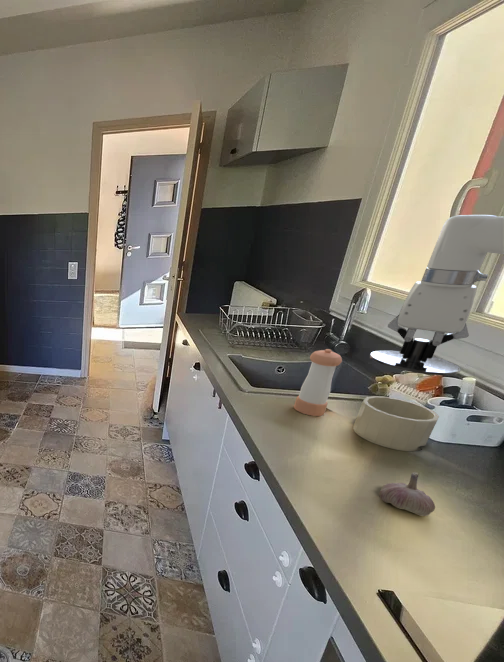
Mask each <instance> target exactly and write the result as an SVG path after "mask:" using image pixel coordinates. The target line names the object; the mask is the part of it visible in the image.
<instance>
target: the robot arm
mask: <svg viewBox="0 0 504 662" xmlns="http://www.w3.org/2000/svg"><path fill="white" fill-rule="evenodd" d="M489 253H490V254H498V255H504V216H497V215H493V214H459V215H453V216H451V217H449V218H448V219H446V220H445V222H444V223H443V225H442V228H441V230H440V233H439V235H438V238H437V240H436V243H435V246H434V248H433V250H432V253H431V255H430V258H429V260H428V263H427V265H426V268H425V271H424V273H423V274H422V278H421V280H420V281H419V280H418V281H415V283H414V284H413V285H412V287H411V288H410V290H409V292H408V294H407V295H406V298H405V300H404V302H403V304H402V306H401V309H400V311H399V312H398V313H399V314H397V316H395V318H393V319H392V320H391V321H390V322H388V324H387V328H389V329H390V330H392V331H394V332H396V333H398V335H399V336H400V337H401V338H402V339H403V340H404V341H403V343H402V347H401V349H400V350H399V351H400V354H403V359H407V358H408V355H409V353H410V351H411V348H412V346H413V341H414V336H415V334H416V332H417V330H421V331H430V332H434V334H433V337H432V339H430V340H429V344H428V346H427V348H426V350H425V353H424V355H423V357H422V360H421V361H422V362H426V361H427V358H430V359H432V357H434V354H435V352H436V350H437V348H438V347H439V346H440V345H443V344H445V343H448V342H450V341H453V340H459V339H460V340H461V339H466V338H469V336H470V334H469V330H468V325H467V321H468V319H469V316H470V313H471V311H472V308H473V304H474V302H475V301H474V300H475V297H476V293H477V285H474V284H475V283H477V282H481V281H482V282H486V281H487V279H488V277H489V273H487V274H486V273H482V272H480V270H481V267H482V265H483V263H484V261H485V259H486V256H487V254H489ZM406 328H407V329H406Z"/></svg>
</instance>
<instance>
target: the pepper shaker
mask: <svg viewBox="0 0 504 662" xmlns="http://www.w3.org/2000/svg"><path fill="white" fill-rule="evenodd" d="M309 360H310V361H311V364H310V366H309V370H308V373H307V376H306V377H305V379H304V380H303V382H302V385H301V387H300V391H299V393H298V394H299V395H297V396H296V398H295V401H294V405H293V409H294V410H295V411H297V412H299V413H301V414H304V415H308V416H312V417H322V416H324V415H325V413H326V410H327V407H328V399H329V396H330V394H331V391H332V382H333V381H332V380H333V378H334V375H335V371H336V368H337V367H338V366H340V365H341V363H342V362H343V357H342V356H341V355H340V354H339V353H336V352H334V351H333V350H332V349H330V348H326V349H321V350H320V349H319V350H315V351H313V352H312V353H311V354H310V356H309Z"/></svg>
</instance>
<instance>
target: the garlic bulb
mask: <svg viewBox="0 0 504 662" xmlns="http://www.w3.org/2000/svg"><path fill="white" fill-rule="evenodd" d="M418 479H419V472H416V471H413V472H412V473H410V479H409V482H408V484H406V483H404V482H389V483H385V484H383V486H382V487H381V488H380V491H379V493H378V496H379V498H380V500H381V501H382V502H384V503H386V504H391V505H392V506H393V507H395V508H397V509H399V510H405V511H407V512H410V513H413V514H414V515H417V516H420V517H427V516H429V515H430V514H431V513H433V512H434V511H435V509H436V505H435V502H434V500H433V499H432V498H431V497H430V496H429V495H428V494H426V493H425V492H424V490H421V489H418V486H417V484H418Z"/></svg>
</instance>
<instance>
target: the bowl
mask: <svg viewBox="0 0 504 662" xmlns="http://www.w3.org/2000/svg"><path fill="white" fill-rule="evenodd" d="M439 418H440V416H439V415H438V414H437V412H435V411H434V410H432V409H430V408H428V407H427V406H424V405H423V404H422V405H421V404H418V403H416V402H413V401H409V400H407V399H401V398H396V397H390V396H385V395H384V396H381V395H371V396H366V397H364V398H363V400H362V403H361V405H360V408H359V410H358V413H357V416H356V418H355V421H354V423H353V426H352V429H353V432H354V433H355V434H357V436H359V437H360V438H362V439H364V440H366V441H368V442H370V443H372V444H375V445H378V446H381V447H384V448H387V449H392V450H396V451H400V452H401V451H403V452H419V451H420V452H421V451H422V450H423V448H422V447H424V446H426V445H427V443H428V441H429V439H430V437H431V435H432V432H433V430H434V428H435V427H436V424H437V422H438V420H439Z"/></svg>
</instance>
